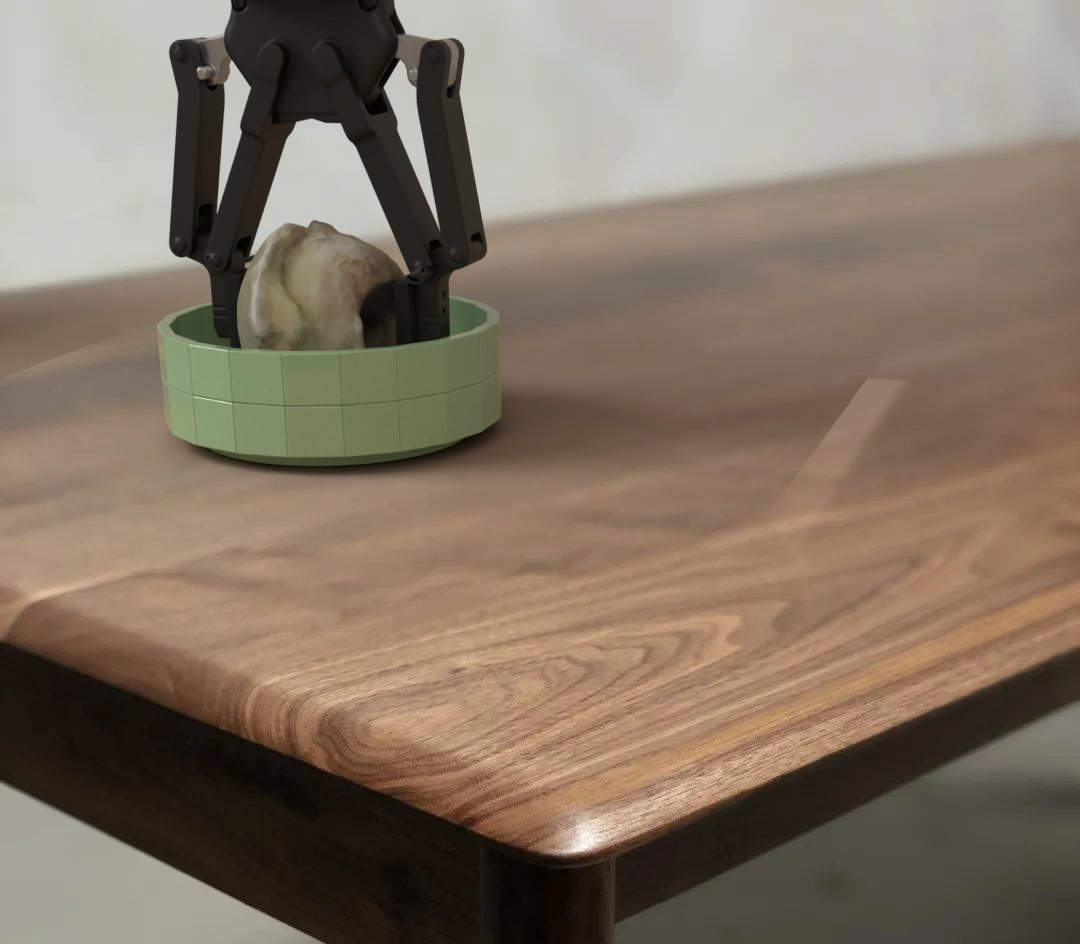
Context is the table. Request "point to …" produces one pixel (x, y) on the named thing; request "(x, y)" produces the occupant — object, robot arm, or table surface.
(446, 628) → the table surface
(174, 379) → the bowl
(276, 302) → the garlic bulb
